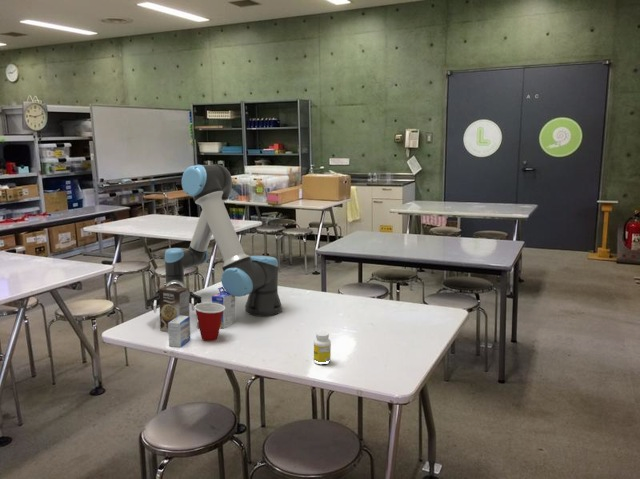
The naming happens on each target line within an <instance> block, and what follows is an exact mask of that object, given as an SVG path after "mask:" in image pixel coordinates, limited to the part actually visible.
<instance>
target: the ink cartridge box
mask: <svg viewBox="0 0 640 479" xmlns="http://www.w3.org/2000/svg"><path fill="white" fill-rule="evenodd" d="M217 290H218V293H216V294H214V295H212V296H211V303H218V304H221V305H223V306H225V310H224V311H223V315H222V319H221V325H220V329H224V328H227V327H228V326H230V325H231V323H232V324H233V323H235V322H236V297H235V296H233V295H230V294H229V293H228V292H227V291H226V290H225V289H224V287H223V286H221V287H219V288H217Z"/></svg>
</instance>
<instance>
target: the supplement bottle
mask: <svg viewBox="0 0 640 479" xmlns="http://www.w3.org/2000/svg"><path fill="white" fill-rule="evenodd" d="M329 336H330V334H329V332H327V331H323V330H321V331H317V332H316V334H315V340H314V341H313V361H314V360H316V361H318V362H326V361H329V360H330V361H331V355H332V354H331V353H332V352H331V350H332V349H331V347H332V346H331V345H332V344H331V343H332V342H331V340H330V339H329Z"/></svg>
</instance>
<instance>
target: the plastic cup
mask: <svg viewBox="0 0 640 479" xmlns="http://www.w3.org/2000/svg"><path fill="white" fill-rule="evenodd" d="M224 310H225V306H223V305H221V304H218V303H212V302H201V303H199V304H198V303H197V305H195V306H194V311H195V313H196V317H197V322H198V324H199V329H198V330H199V332H200V333H199V334H200V337H201V340H203V341H205V342H212V341H216V340H218V338H219V334H220V329H221V328H220V325H221V319H222V315H223V311H224Z"/></svg>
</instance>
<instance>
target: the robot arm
mask: <svg viewBox="0 0 640 479" xmlns="http://www.w3.org/2000/svg"><path fill="white" fill-rule="evenodd" d="M232 186H233V178H232V175H231V172H230V171H229V170H228V169H227V167H225V166H223V165H222V164H218V163H214V164H196V165H190V166H188V167H187V168H186V169H185V170H184V172H183V173H182V176H181V187H182V190H183V192H184V193H185V194H186V195H188V196H189V197H192V198H193V202H194V203H195V204H196V205H199V206H200V207H201V212H200V215H199V218H198V221H197V224H196V227H195V230H194V232H193V235H192V238H191V241H190V244H189V247H188V249H186V250H183V249H182V248H179V247H173V248H172V247H171V248H167V249H166V250H165V252H164V268H165V269H164V270H165V287H166V286H169V285H171V286H178V287H184V288H185V269H186V270H187V269H189V268H192V267H196V266H201V265H202V264H205V263H206V262H207V261H208V260H209V257H210V255H209V254H210V253H209V251H208V247H209V244H210V241H211V239H212V236H213V240H214V241H215V243H216V247H217V249H218V251H219V253H220V256H221V258H222V261H223V264H222V266H221V269H222V271H223V272H222V275H221V280H220V281H221V284H222V287H223V288H224V290H225V291H227V292H228V293H229V294H230V295H233V296H235V298H236V297H237V298H238V297H243V296H247V299H246V302H245V305H244V307H245V308H244V311H245V313H246V314H248V315H251V316H255V317H269V316H268V315H271V316H274V315H273V314H275V315H277V314H276V313H278V312H280V311H281V310H282V308H283V307H282V301H281V299H280V296H279V293H278V290H279V289H278V288H279V287H278V285H279V284H278V283H279V277H278V276H279V275H278V274H279V273H278V272H279V265H278V264H279V262H278V259H277V258H276V257H273V256H268V255H248V254H246V253H245V251H244V249H243V246H242V244H241V242H240V239H239V238H238V234H237V233H236V232H237V231H236V230H235V228H234V225H233V223H232V220H231V218H230V217H231V216H229V213H228V210H227V208H226V206H225V201H227V200H229V197H230V195H231V191H232ZM145 302H146V307H148V308H149V307H150V309H152V310H153V313H154V314H155V313H157V308H158V307H157V306H160V303H159V292H157V293H156V294H154V295H152V296H151V297H149V298H148V299H146V301H145ZM199 303H202V296H200V295H198V294H196V293H193V292H192V291H189V304H191V310H192V311H195V308H194V306H195V305H197V304H199ZM281 312H282V311H281ZM281 312H280V313H281ZM278 314H279V313H278Z"/></svg>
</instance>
